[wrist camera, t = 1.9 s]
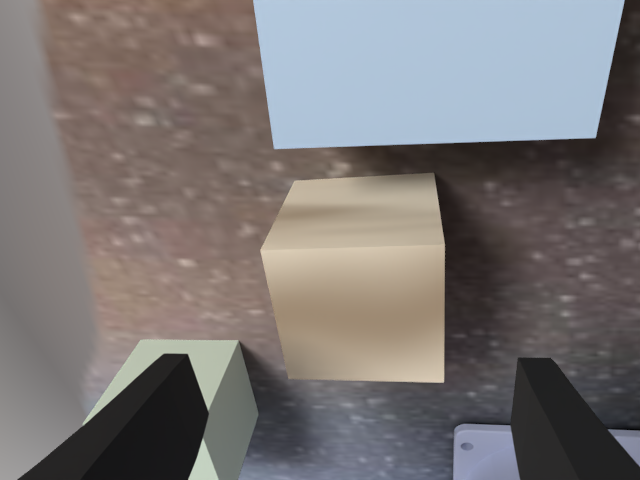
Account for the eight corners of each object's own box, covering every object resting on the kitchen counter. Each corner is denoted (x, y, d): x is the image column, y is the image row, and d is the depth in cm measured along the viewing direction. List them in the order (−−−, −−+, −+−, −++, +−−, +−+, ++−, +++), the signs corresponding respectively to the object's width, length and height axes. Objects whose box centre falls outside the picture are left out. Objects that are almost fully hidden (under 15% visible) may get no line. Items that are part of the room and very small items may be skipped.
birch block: (434, 288, 17) (443, 382, 13) (312, 289, 18) (288, 379, 14) (433, 171, 15) (444, 244, 11) (295, 179, 16) (260, 250, 12)
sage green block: (259, 412, 22) (229, 507, 18) (170, 409, 23) (123, 499, 19) (239, 339, 20) (200, 429, 16) (141, 338, 21) (82, 424, 17)
